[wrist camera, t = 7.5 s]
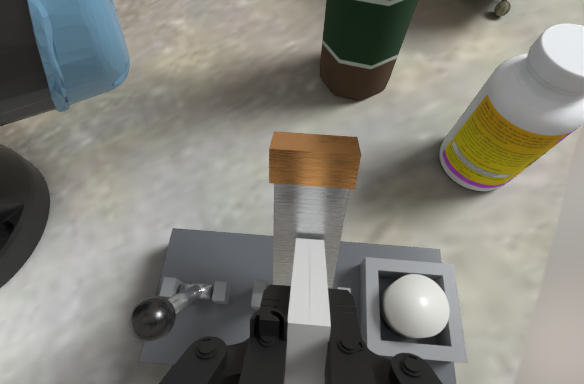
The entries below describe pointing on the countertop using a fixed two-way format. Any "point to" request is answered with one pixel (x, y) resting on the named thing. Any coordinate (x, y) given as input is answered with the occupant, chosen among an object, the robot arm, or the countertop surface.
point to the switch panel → (259, 275)
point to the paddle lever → (310, 195)
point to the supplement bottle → (519, 112)
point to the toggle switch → (165, 311)
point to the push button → (415, 307)
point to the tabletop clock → (502, 8)
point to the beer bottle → (362, 44)
